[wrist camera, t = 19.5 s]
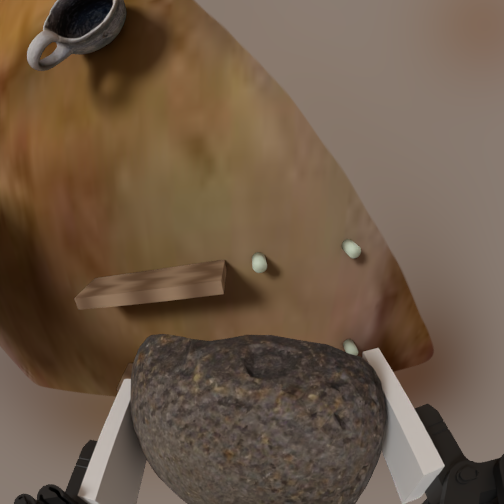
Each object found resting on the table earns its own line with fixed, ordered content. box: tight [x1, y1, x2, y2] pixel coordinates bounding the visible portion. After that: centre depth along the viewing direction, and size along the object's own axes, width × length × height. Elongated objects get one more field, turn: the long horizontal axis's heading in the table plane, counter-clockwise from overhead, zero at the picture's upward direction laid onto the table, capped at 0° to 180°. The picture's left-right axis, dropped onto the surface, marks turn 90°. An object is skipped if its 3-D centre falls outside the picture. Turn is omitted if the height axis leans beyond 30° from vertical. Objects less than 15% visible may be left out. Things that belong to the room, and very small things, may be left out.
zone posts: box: [252, 239, 361, 356], centre depth 36 cm, size 13×17×2 cm
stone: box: [131, 334, 387, 504], centre depth 10 cm, size 10×8×10 cm
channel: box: [74, 260, 227, 392], centre depth 35 cm, size 18×16×6 cm
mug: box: [27, 0, 126, 71], centre depth 21 cm, size 10×12×10 cm
